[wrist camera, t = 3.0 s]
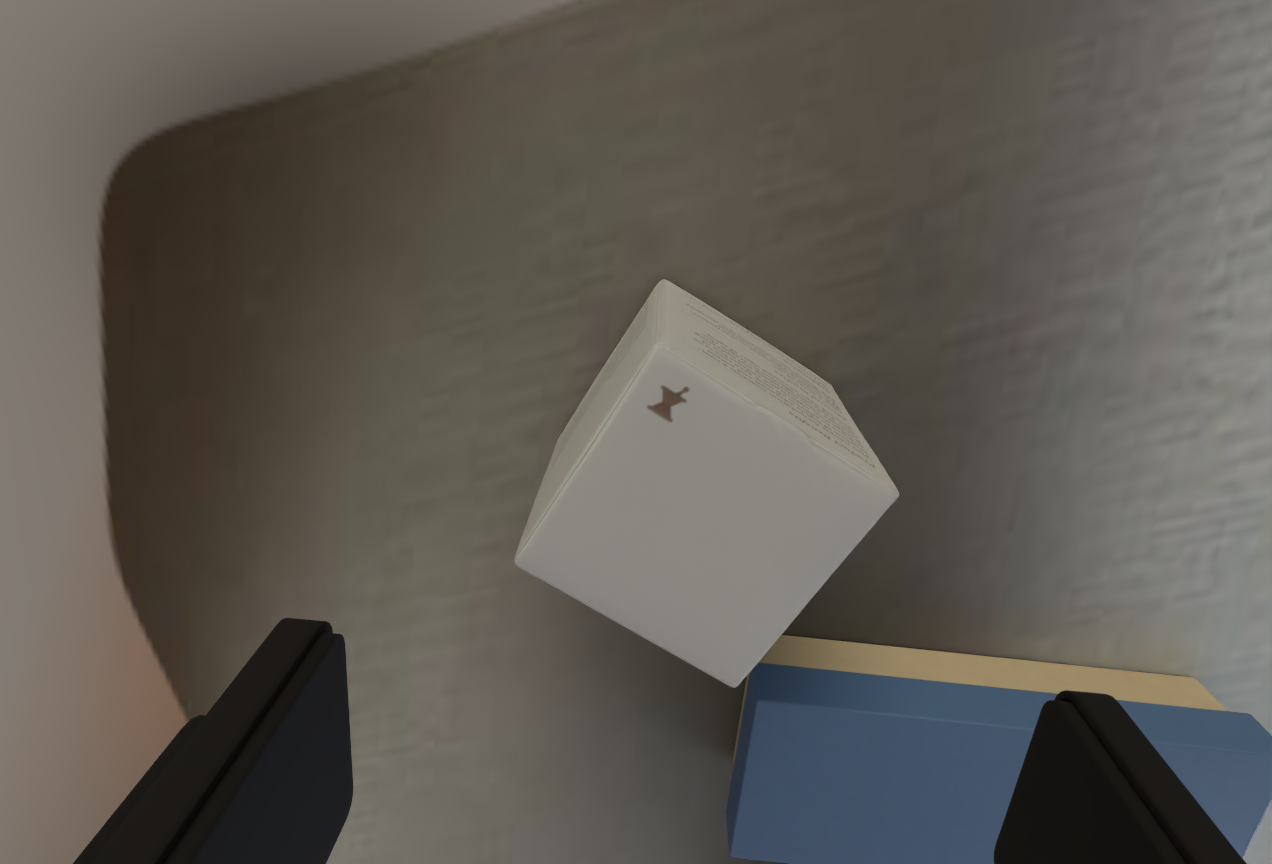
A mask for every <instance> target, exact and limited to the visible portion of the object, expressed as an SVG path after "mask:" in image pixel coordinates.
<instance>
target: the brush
mask: <svg viewBox="0 0 1272 864" xmlns="http://www.w3.org/2000/svg"><path fill="white" fill-rule="evenodd" d="M1065 690H1069V691H1079V692H1090V693H1101V694H1108V695H1110V696H1113V697H1114V698H1115V699H1116V700H1117V701H1118V702H1119V703H1120V705H1121V706H1122V707H1123V709H1124V710H1125V711H1126V712H1127V714H1128V715H1129V716H1130V717H1131V719H1132V720H1133V721H1134V722H1135V724H1136V725H1137V726H1138V727H1139V729H1140V730H1141V731H1142V733H1143V734H1144V735H1145V736H1146V738H1147V739H1148V740H1149V741H1150V743H1151V744H1152V745H1153V746H1154V748H1155V749H1156V750H1157V751H1158V753H1159V754H1160V755H1161V756H1162V758H1163V759H1164V760H1165V762H1166V763H1167V764H1168V765H1169V767H1170V768H1171V769H1172V770H1173V772H1174V773H1175V774H1176V775H1177V777H1178V778H1179V779H1180V780H1181V782H1182V783H1183V784H1184V786H1185V787H1186V788H1187V789H1188V791H1189V792H1190V793H1191V794H1192V796H1193V797H1194V798H1195V799H1196V801H1197V802H1198V803H1199V804H1200V806H1201V807H1202V808H1203V810H1204V811H1205V812H1206V813H1207V815H1208V816H1209V817H1210V818H1211V820H1212V821H1213V822H1214V823H1215V825H1216V826H1217V827H1218V828H1219V830H1220V831H1221V832H1222V834H1223V835H1224V836H1225V837H1226V839H1227V840H1228V841H1229V842H1230V844H1231V845H1232V846H1233V847H1234V849H1235V850H1236V851H1237V852H1238V854H1239V855H1240V856H1241V858H1242V859H1243V857H1244V855H1245V853H1246V851H1247V849H1248V847H1249V845H1250V843H1251V841H1252V839H1253V837H1254V835H1255V833H1256V831H1257V829H1258V827H1259V825H1260V823H1261V821H1262V818H1263V816H1264V814H1265V812H1266V810H1267V808H1268V806H1269V804H1270V802H1271V800H1272V736H1271V735H1270V734H1269V733H1268V732H1267V731H1266V730H1265V729H1264V728H1263V727H1262V726H1261V725H1260V724H1259V723H1258V722H1257V721H1256V720H1255V719H1254V718H1253V717H1252V715H1250V714H1248V713H1238V712H1229V711H1227V710H1226V709H1225V708H1224V707H1223V706H1222V705H1221V704H1220V703H1219V702H1218V701H1217V700H1216V699H1215V698H1214V697H1213V696H1212V695H1211V694H1210V693H1209V692H1208V690H1207V689H1206V688H1205V687H1204V686H1203V685H1202V684H1201V683H1200V682H1199V681H1198V680H1197V679H1196V678H1192V677H1183V676H1173V675H1164V674H1154V673H1144V672H1135V671H1125V670H1115V669H1106V668H1096V667H1086V666H1077V665H1067V664H1057V663H1048V662H1038V661H1028V660H1019V659H1009V658H999V657H990V656H980V655H970V654H961V653H951V652H942V651H932V650H922V649H913V648H903V647H893V646H884V645H874V644H864V643H855V642H845V641H835V640H826V639H816V638H806V637H797V636H787V635H781V636H780V637H779V638H778V639H777V641H776V642H775V643H774V644H773V645H772V647H771V648H770V649H769V650H768V651H767V652H766V654H765V655H764V656H763V657H762V658H761V660H760V661H759V662H758V663H757V664H756V666H755V667H754V668H753V669H752V670H751V671H750V673H749V674H748V675H747V677H746V683H745V689H744V695H743V701H742V707H741V713H740V719H739V725H738V731H737V737H736V743H735V749H734V755H733V775H732V781H731V787H730V793H729V799H728V805H727V811H726V813H727V827H728V841H729V855H730V857H734V858H743V859H752V860H761V861H770V862H780V863H789V864H994V849H995V845H996V842H997V839H998V836H999V833H1000V830H1001V827H1002V824H1003V822H1004V819H1005V816H1006V813H1007V810H1008V807H1009V804H1010V801H1011V798H1012V795H1013V792H1014V789H1015V786H1016V783H1017V780H1018V777H1019V774H1020V771H1021V768H1022V765H1023V762H1024V759H1025V756H1026V753H1027V750H1028V747H1029V744H1030V742H1031V739H1032V736H1033V733H1034V730H1035V727H1036V724H1037V721H1038V718H1039V715H1040V712H1041V709H1042V707H1043V705H1044V703H1046V702H1047V701H1049V700H1055V698H1056V696H1057V695H1058V694H1059V693H1060V692H1061V691H1065Z"/></svg>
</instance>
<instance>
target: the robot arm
mask: <svg viewBox="0 0 1272 864" xmlns="http://www.w3.org/2000/svg"><path fill="white" fill-rule="evenodd" d="M352 796H353V777H352V759H351V741H350V724H349V706H348V689H347V671H346V653H345V641H344V637H343V635H341V634H333V632H332V627H331V625H330V623H328V622H326V621H315V620H304V619H293V618H285V619H282V620H281V621H280V622H279V623H278V624H277V625H276V627H275V628H274V629H273V630H272V632H271V633H270V634H269V635H268V637H267V638H266V639H265V641H264V642H263V643H262V644H261V646H260V647H259V648H258V650H257V651H256V652H255V653H254V655H253V656H252V657H251V658H250V660H249V661H248V662H247V664H246V665H245V666H244V667H243V669H242V670H241V671H240V673H239V674H238V675H237V676H236V678H235V679H234V680H233V681H232V683H231V684H230V685H229V687H228V688H227V689H226V690H225V692H224V693H223V694H222V696H221V697H220V698H219V699H218V701H217V702H216V703H215V704H214V706H213V707H212V708H211V710H210V711H209V712H208V713H207V715H206V716H203V715H199V716H197V717H195V718H193V719H191V720H190V721H189V722H188V723H187V724H186V725H185V726H184V727H183V728H182V729H181V730H180V731H179V733H178V734H177V735H176V737H175V738H174V739H173V740H172V741H171V743H170V744H169V745H168V747H167V748H166V749H165V750H164V752H163V753H162V754H161V755H160V756H159V757H158V759H157V760H156V761H155V762H154V764H153V765H152V766H151V767H150V769H149V770H148V771H147V772H146V774H145V775H144V776H143V777H142V779H141V780H140V781H139V782H138V784H137V785H136V786H135V787H134V789H133V790H132V791H131V792H130V794H129V795H128V796H127V797H126V799H125V800H124V801H123V802H122V803H121V805H120V806H119V807H118V808H117V810H116V811H115V812H114V813H113V815H112V816H111V817H110V818H109V819H108V821H107V822H106V823H105V825H104V826H103V827H102V828H101V829H100V831H99V832H98V833H97V835H96V836H95V837H94V838H93V839H92V841H91V842H90V843H89V844H88V846H87V847H86V848H85V849H84V850H83V852H82V853H81V855H80V856H79V857H78V858H77V859H76V860H75V862H74V863H73V864H326V862H327V860H328V858H329V856H330V853H331V851H332V849H333V847H334V845H335V843H336V840H337V838H338V836H339V834H340V832H341V830H342V827H343V825H344V823H345V821H346V819H347V816H348V813H349V810H350V807H351V802H352ZM994 864H1246V863H1245V861H1244V860H1243V859H1242V858H1241V856H1240V855H1239V854H1238V852H1237V851H1236V850H1235V849H1234V847H1233V846H1232V845H1231V844H1230V842H1229V841H1228V840H1227V839H1226V837H1225V836H1224V835H1223V834H1222V832H1221V831H1220V830H1219V828H1218V827H1217V826H1216V825H1215V823H1214V822H1213V821H1212V820H1211V818H1210V817H1209V816H1208V815H1207V813H1206V812H1205V811H1204V810H1203V808H1202V807H1201V806H1200V804H1199V803H1198V802H1197V801H1196V799H1195V798H1194V797H1193V796H1192V794H1191V793H1190V792H1189V791H1188V789H1187V788H1186V787H1185V786H1184V784H1183V783H1182V782H1181V780H1180V779H1179V778H1178V777H1177V775H1176V774H1175V773H1174V772H1173V770H1172V769H1171V768H1170V767H1169V765H1168V764H1167V763H1166V762H1165V760H1164V759H1163V758H1162V756H1161V755H1160V754H1159V753H1158V751H1157V750H1156V749H1155V748H1154V746H1153V745H1152V744H1151V743H1150V741H1149V740H1148V739H1147V738H1146V736H1145V735H1144V734H1143V733H1142V731H1141V730H1140V729H1139V727H1138V726H1137V725H1136V724H1135V722H1134V721H1133V720H1132V719H1131V717H1130V716H1129V715H1128V714H1127V712H1126V711H1125V710H1124V709H1123V707H1122V706H1121V705H1120V703H1119V702H1118V701H1117V700H1116V699H1115V698H1114V697H1113V696H1110V695H1108V694H1101V693H1090V692H1079V691H1069V690H1065V691H1061V692H1060V693H1059V694H1058V695H1057V696H1056V698H1055V700H1049V701H1047V702H1046V703H1044V705H1043V707H1042V709H1041V712H1040V715H1039V718H1038V721H1037V724H1036V727H1035V730H1034V733H1033V736H1032V739H1031V742H1030V744H1029V747H1028V750H1027V753H1026V756H1025V759H1024V762H1023V765H1022V768H1021V771H1020V774H1019V777H1018V780H1017V783H1016V786H1015V789H1014V792H1013V795H1012V798H1011V801H1010V804H1009V807H1008V810H1007V813H1006V816H1005V819H1004V822H1003V824H1002V827H1001V830H1000V833H999V836H998V839H997V842H996V845H995V849H994Z"/></svg>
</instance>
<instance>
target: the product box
mask: <svg viewBox="0 0 1272 864" xmlns="http://www.w3.org/2000/svg"><path fill="white" fill-rule="evenodd" d="M898 497H899V492H898V490H897V488H896V487H895V485H894V483H893V482H892V480H891V479H890V477H889V475H888V474H887V472H886V470H885V469H884V467H883V466H882V464H881V463H880V461H879V459H878V458H877V456H876V455H875V453H874V452H873V450H872V449H871V448H870V446H869V444H868V443H867V441H866V440H865V438H864V437H863V435H862V434H861V432H860V431H859V429H858V428H857V426H856V424H855V423H854V421H853V420H852V418H851V417H850V415H849V414H848V412H847V411H846V409H845V407H844V405H843V403H842V402H841V401H840V399H839V397H838V396H837V394H836V392H835V391H834V389H833V387H832V385H831V384H829V383H828V382H826V381H825V380H823V379H822V378H820V377H819V376H818V375H816V374H815V373H813V372H812V371H810V370H809V369H807V368H806V367H804V366H803V365H801V364H800V363H798V362H797V361H795V360H794V359H792V358H791V357H789V356H787V355H786V354H784V353H783V352H781V351H780V350H778V349H777V348H775V347H774V346H772V345H771V344H769V343H768V342H766V341H764V340H763V339H761V338H760V337H758V336H757V335H755V334H754V333H752V332H750V331H749V330H747V329H746V328H744V327H742V326H741V325H739V324H738V323H736V322H734V321H733V320H731V319H730V318H728V317H726V316H725V315H723V314H722V313H720V312H718V311H717V310H715V309H714V308H712V307H710V306H709V305H707V304H706V303H704V302H702V301H701V300H699V299H698V298H696V297H694V296H693V295H691V294H689V293H688V292H686V291H684V290H683V289H681V288H679V287H678V286H676V285H674V284H673V283H671V282H670V281H668V280H665V279H663V280H661V281H660V282H659V283H658V284H657V285H656V286H655V288H654V289H653V291H652V292H651V294H650V296H649V297H648V299H647V300H646V302H645V303H644V305H643V306H642V308H641V310H640V311H639V313H638V314H637V316H636V317H635V319H634V320H633V322H632V323H631V325H630V326H629V328H628V330H627V331H626V333H625V334H624V336H623V337H622V339H621V340H620V342H619V343H618V345H617V346H616V348H615V349H614V351H613V352H612V354H611V356H610V357H609V359H608V360H607V362H606V363H605V365H604V366H603V368H602V369H601V371H600V372H599V374H598V376H597V377H596V379H595V380H594V382H593V384H592V385H591V387H590V389H589V390H588V392H587V393H586V395H585V397H584V398H583V400H582V401H581V403H580V405H579V406H578V408H577V409H576V411H575V413H574V414H573V416H572V417H571V419H570V421H569V422H568V424H567V425H566V427H565V429H564V430H563V432H562V434H561V435H560V437H559V438H558V440H557V442H556V445H555V449H554V451H553V454H552V457H551V460H550V462H549V465H548V467H547V470H546V472H545V474H544V477H543V480H542V483H541V486H540V488H539V490H538V494H537V496H536V498H535V501H534V504H533V507H532V510H531V513H530V516H529V518H528V521H527V524H526V527H525V529H524V532H523V535H522V537H521V540H520V543H519V546H518V549H517V551H516V554H515V558H514V562H515V565H516V566H517V567H519V568H520V569H522V570H524V571H526V572H528V573H530V574H531V575H533V576H535V577H537V578H539V579H541V580H542V581H544V582H546V583H548V584H550V585H551V586H553V587H555V588H557V589H558V590H560V591H562V592H564V593H566V594H567V595H569V596H571V597H573V598H574V599H576V600H578V601H580V602H581V603H583V604H585V605H587V606H588V607H590V608H592V609H594V610H595V611H597V612H599V613H601V614H602V615H604V616H606V617H608V618H610V619H611V620H613V621H615V622H616V623H618V624H620V625H622V626H624V627H625V628H627V629H629V630H631V631H633V632H634V633H636V634H638V635H640V636H641V637H643V638H645V639H647V640H648V641H650V642H652V643H654V644H656V645H657V646H659V647H661V648H663V649H664V650H666V651H668V652H670V653H672V654H673V655H675V656H677V657H679V658H680V659H682V660H684V661H686V662H688V663H689V664H691V665H693V666H695V667H696V668H698V669H700V670H702V671H704V672H705V673H707V674H709V675H711V676H712V677H714V678H716V679H718V680H719V681H721V682H723V683H724V684H726V685H728V686H730V687H732V688H735V687H737V686H738V685H739V684H740V683H741V682H742V680H743V679H744V678H745V677H746V676H747V675H748V674H749V673H750V671H751V670H752V669H753V668H754V667H755V666H756V664H757V663H758V662H759V661H760V660H761V658H762V657H763V656H764V655H765V654H766V652H767V651H768V650H769V649H770V648H771V647H772V645H773V644H774V643H775V642H776V641H777V639H778V638H779V637H780V636H781V635H782V634H783V632H784V631H785V630H786V629H787V628H788V626H789V625H790V624H791V623H792V621H793V620H794V619H795V618H796V617H797V616H798V614H799V613H800V612H801V611H802V609H803V608H804V607H805V606H806V605H807V603H808V602H809V601H810V600H811V598H812V597H813V596H814V595H815V594H816V593H817V591H818V590H819V589H820V588H821V587H822V585H823V584H824V583H825V582H826V581H827V579H828V578H829V577H830V576H831V575H832V573H833V572H834V571H835V570H836V569H837V568H838V566H839V565H840V564H841V563H842V562H843V561H844V559H845V558H846V557H847V556H848V555H849V553H850V552H851V551H852V550H853V549H854V548H855V547H856V545H857V544H858V543H859V542H860V541H861V540H862V538H863V537H864V536H865V535H866V534H867V533H868V531H869V530H870V529H871V528H872V527H873V526H874V524H875V523H876V522H877V521H878V520H879V518H880V517H881V516H882V515H883V514H884V513H885V511H886V510H887V509H888V508H889V507H890V506H891V505H892V504H893V503H894V502H895V501H896V499H897V498H898Z"/></svg>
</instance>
